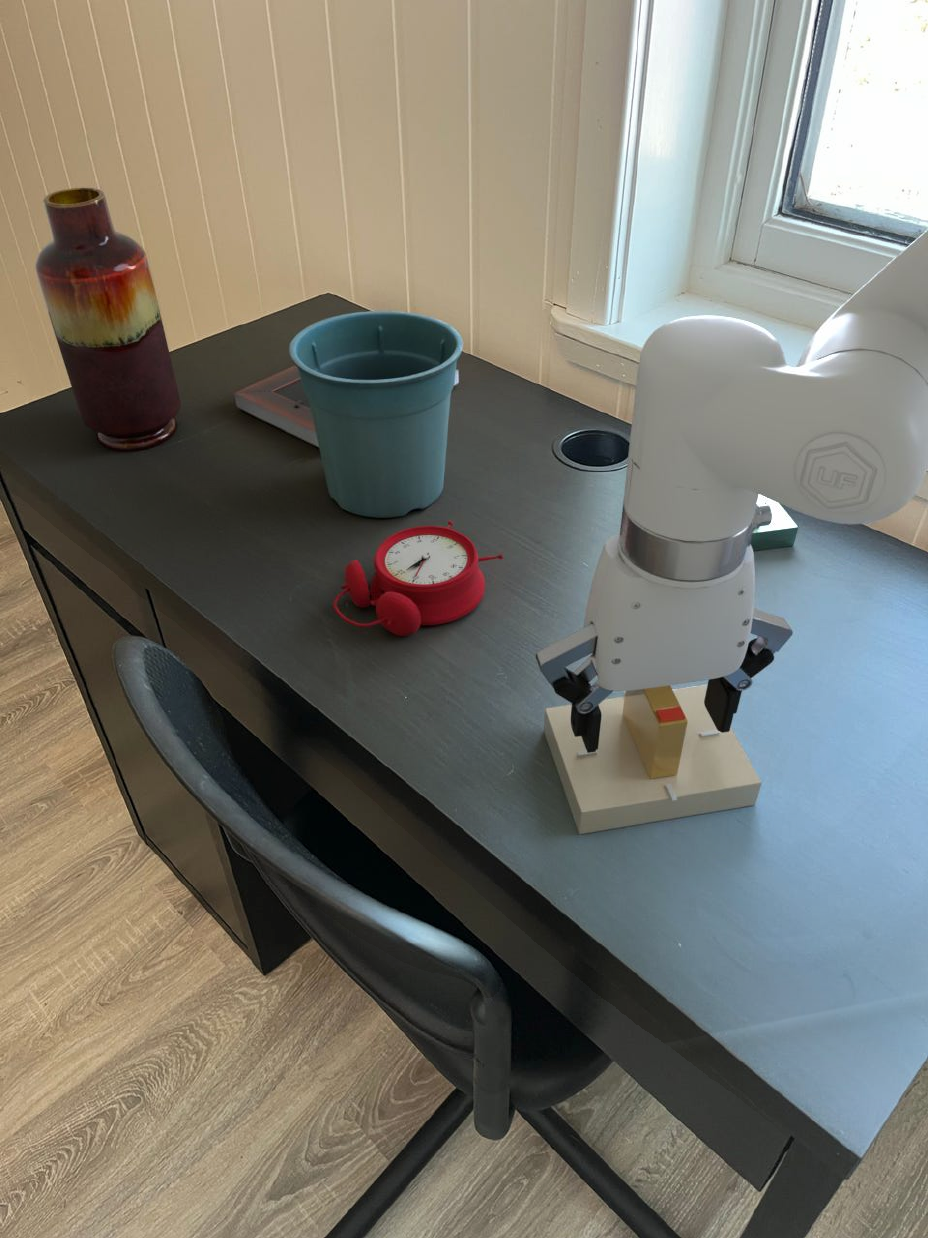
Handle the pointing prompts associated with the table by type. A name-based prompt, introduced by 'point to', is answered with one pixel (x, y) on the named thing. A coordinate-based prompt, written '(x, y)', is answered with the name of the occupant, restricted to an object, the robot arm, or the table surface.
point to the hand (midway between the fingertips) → (651, 728)
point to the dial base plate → (619, 783)
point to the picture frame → (283, 403)
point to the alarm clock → (419, 579)
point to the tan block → (656, 728)
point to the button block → (774, 528)
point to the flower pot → (380, 406)
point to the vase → (107, 323)
